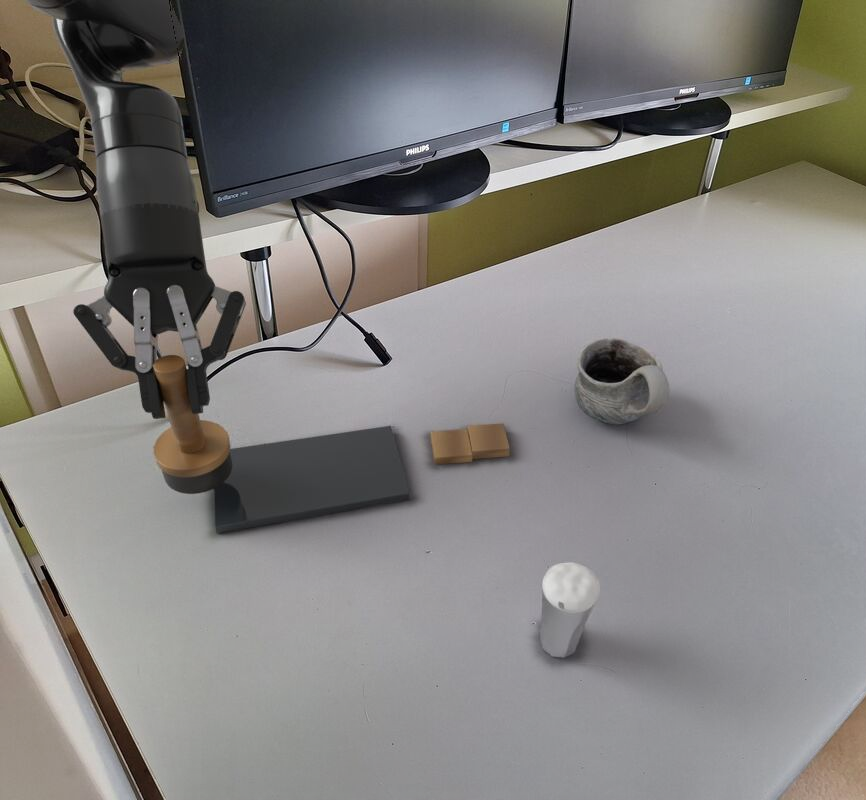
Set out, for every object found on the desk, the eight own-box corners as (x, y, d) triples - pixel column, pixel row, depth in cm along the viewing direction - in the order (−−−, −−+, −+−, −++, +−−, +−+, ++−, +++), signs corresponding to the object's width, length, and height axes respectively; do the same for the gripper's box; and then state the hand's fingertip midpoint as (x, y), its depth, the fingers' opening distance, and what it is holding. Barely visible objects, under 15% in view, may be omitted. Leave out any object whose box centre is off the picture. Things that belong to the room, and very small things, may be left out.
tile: (216, 533, 70) (214, 526, 70) (214, 458, 77) (212, 451, 77) (409, 499, 76) (409, 493, 75) (391, 432, 83) (390, 425, 82)
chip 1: (434, 465, 80) (434, 457, 79) (430, 439, 83) (430, 431, 82) (472, 462, 81) (472, 454, 80) (466, 436, 84) (467, 428, 83)
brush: (161, 501, 68) (124, 394, 60) (161, 451, 73) (127, 345, 64) (237, 488, 70) (211, 382, 62) (232, 440, 75) (208, 335, 66)
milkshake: (520, 660, 64) (532, 591, 57) (544, 610, 68) (557, 540, 61) (571, 682, 63) (589, 614, 56) (591, 630, 67) (610, 561, 60)
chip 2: (472, 459, 81) (472, 451, 80) (467, 433, 84) (467, 425, 83) (508, 456, 82) (509, 448, 81) (502, 431, 85) (503, 423, 84)
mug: (614, 373, 94) (628, 306, 88) (686, 433, 87) (708, 365, 81) (553, 399, 90) (564, 331, 83) (624, 465, 83) (643, 396, 76)
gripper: (42, 205, 59) (73, 426, 58) (233, 195, 63) (263, 401, 63) (71, 232, 66) (98, 429, 66) (240, 221, 70) (267, 406, 70)
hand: (178, 414), depth 64 cm, fingers closed on brush, 2 cm apart
